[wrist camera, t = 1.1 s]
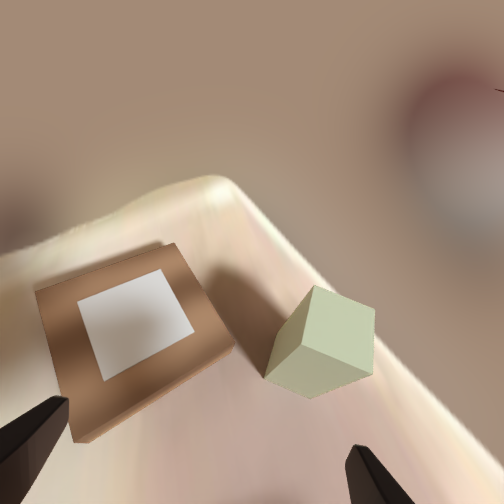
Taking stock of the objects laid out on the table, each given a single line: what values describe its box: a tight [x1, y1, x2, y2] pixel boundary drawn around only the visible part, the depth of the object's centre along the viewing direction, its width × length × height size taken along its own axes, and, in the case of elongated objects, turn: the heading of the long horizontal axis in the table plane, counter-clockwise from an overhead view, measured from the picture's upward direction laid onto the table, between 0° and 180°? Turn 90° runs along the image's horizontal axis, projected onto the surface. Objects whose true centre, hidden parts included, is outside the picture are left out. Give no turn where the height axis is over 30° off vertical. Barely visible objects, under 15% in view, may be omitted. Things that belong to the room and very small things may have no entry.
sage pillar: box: [264, 285, 375, 399], centre depth 20 cm, size 4×4×10 cm
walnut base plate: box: [35, 243, 235, 443], centre depth 22 cm, size 12×12×3 cm
